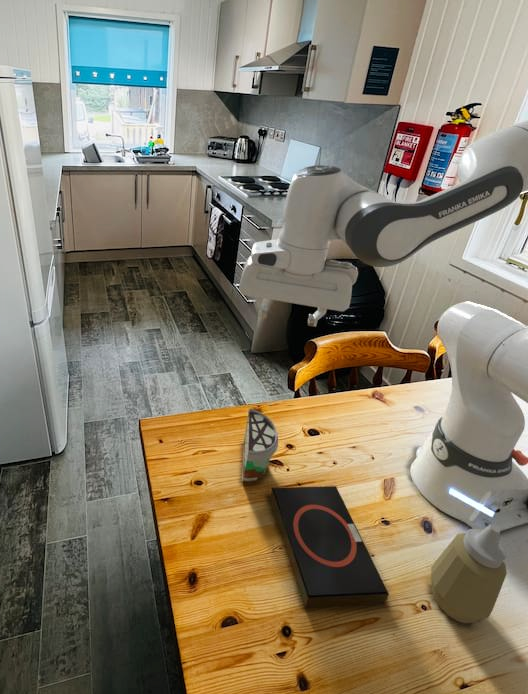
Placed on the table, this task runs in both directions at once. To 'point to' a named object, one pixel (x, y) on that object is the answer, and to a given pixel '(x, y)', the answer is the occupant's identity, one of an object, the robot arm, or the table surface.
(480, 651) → the table surface
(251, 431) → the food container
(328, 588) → the hob
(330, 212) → the robot arm
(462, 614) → the squeeze bottle
